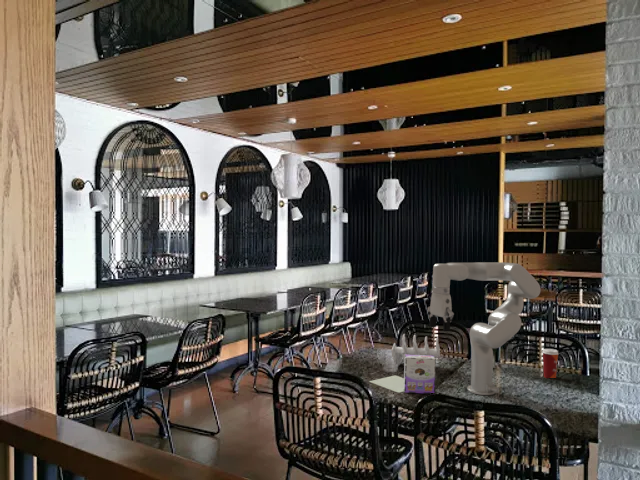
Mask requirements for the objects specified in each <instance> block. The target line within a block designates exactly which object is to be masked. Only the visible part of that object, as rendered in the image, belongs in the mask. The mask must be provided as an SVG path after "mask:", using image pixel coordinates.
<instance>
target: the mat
mask: <svg viewBox="0 0 640 480" xmlns="http://www.w3.org/2000/svg"><path fill="white" fill-rule="evenodd" d="M368 383H371V384H374V385H376V386H378V387H382V388H383V389H387V390H389V391H392V392H395V393H397V394H401V393H405V392H404V377H401V376H398V375H391V376H385V377H381V378H377V379H375V380H374V379H373V380H369V381H368Z"/></svg>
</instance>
